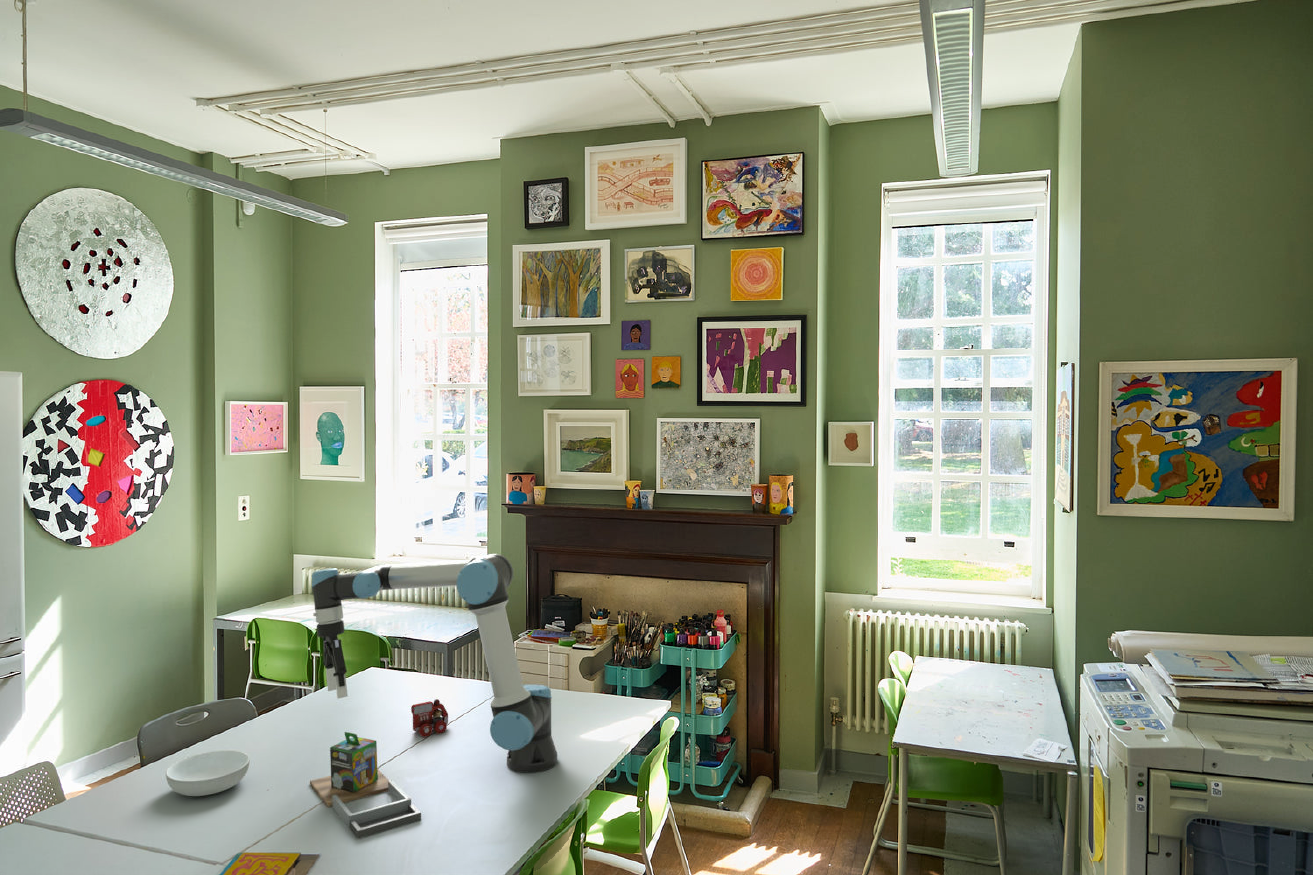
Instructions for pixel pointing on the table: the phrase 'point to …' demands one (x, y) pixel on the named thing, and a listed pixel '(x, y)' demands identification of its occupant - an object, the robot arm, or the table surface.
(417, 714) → the toy fire truck
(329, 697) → the table surface
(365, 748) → the chalk box
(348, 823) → the grey open tray
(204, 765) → the serving bowl
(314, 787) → the wooden board
